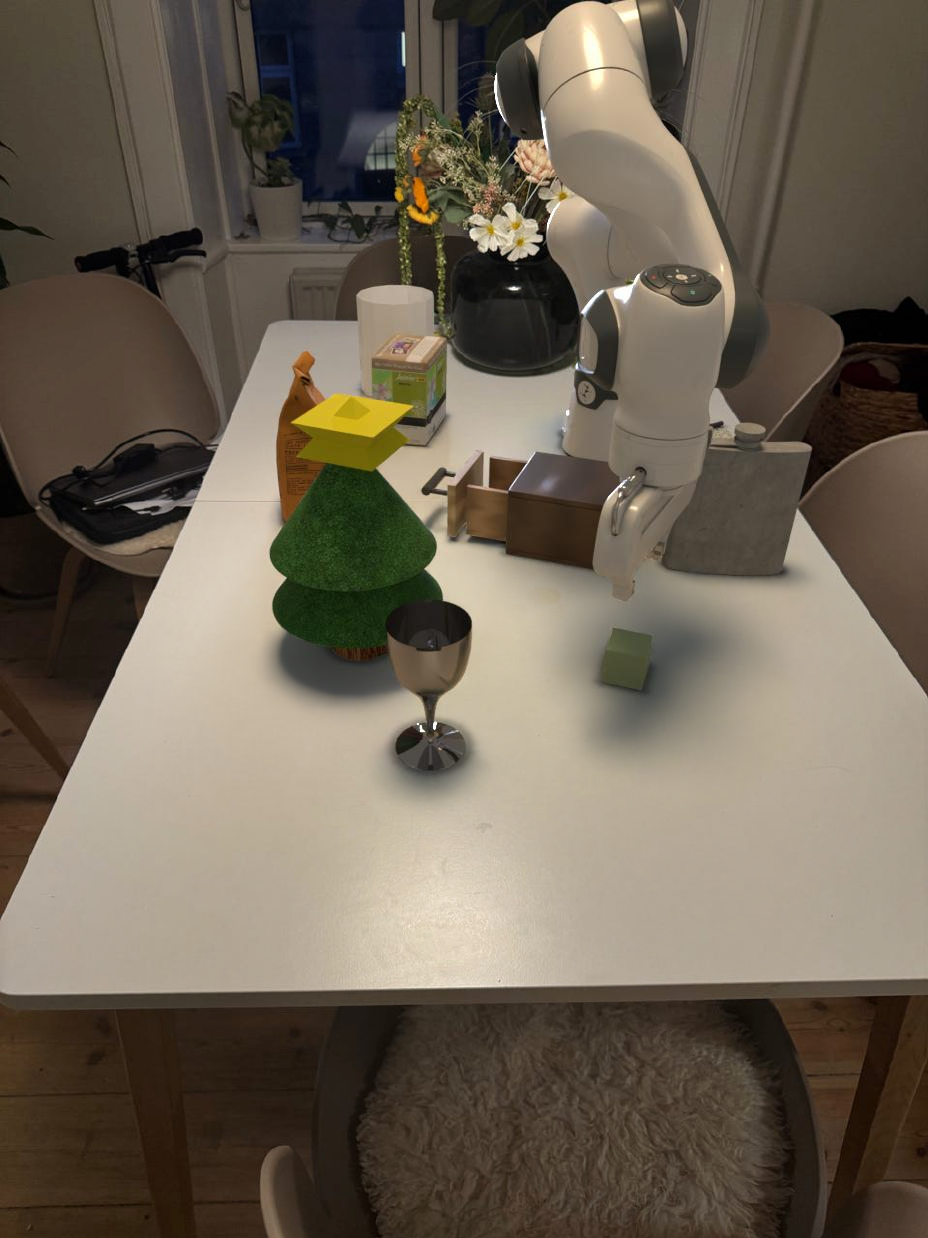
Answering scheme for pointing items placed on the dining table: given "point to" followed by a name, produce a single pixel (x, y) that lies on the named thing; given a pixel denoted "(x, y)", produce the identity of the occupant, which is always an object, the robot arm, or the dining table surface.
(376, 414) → the decorative tree
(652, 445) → the robot arm
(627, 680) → the block
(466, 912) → the dining table surface
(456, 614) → the wine glass
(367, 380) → the container
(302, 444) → the coffee package
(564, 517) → the cabinet
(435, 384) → the tea box
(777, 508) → the hip flask
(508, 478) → the drawer
